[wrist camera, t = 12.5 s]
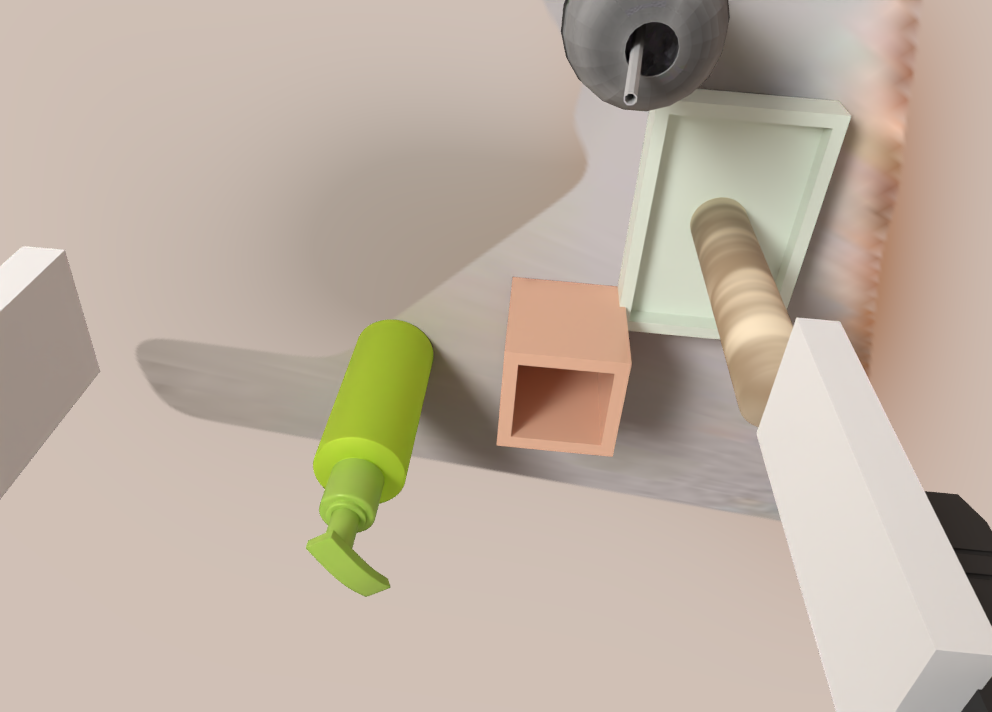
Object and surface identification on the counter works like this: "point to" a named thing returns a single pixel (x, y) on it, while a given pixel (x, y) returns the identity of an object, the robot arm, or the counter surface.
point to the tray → (723, 173)
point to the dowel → (741, 301)
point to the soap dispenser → (369, 444)
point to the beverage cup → (643, 47)
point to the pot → (564, 367)
